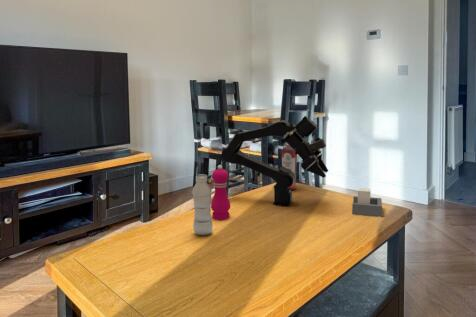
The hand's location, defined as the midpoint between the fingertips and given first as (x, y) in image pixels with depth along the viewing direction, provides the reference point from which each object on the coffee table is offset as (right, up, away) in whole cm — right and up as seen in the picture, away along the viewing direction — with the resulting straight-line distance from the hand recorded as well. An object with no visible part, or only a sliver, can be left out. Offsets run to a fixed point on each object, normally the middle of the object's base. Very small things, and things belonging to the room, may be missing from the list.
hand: (326, 174), depth 155 cm
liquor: (-11, -8, +29) cm, 32 cm away
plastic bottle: (-46, -19, -24) cm, 56 cm away
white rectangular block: (+14, -14, -2) cm, 20 cm away
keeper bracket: (+15, -14, -2) cm, 21 cm away
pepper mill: (-41, -16, -8) cm, 45 cm away
